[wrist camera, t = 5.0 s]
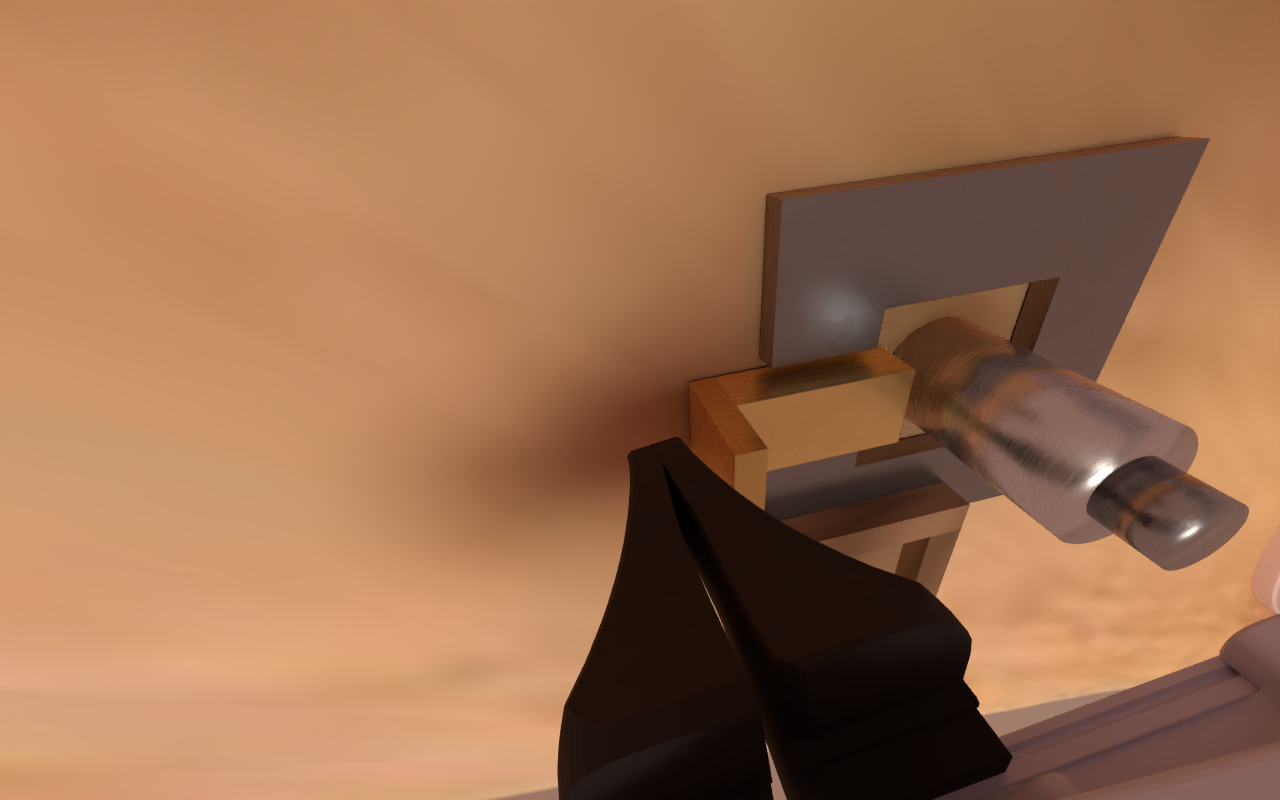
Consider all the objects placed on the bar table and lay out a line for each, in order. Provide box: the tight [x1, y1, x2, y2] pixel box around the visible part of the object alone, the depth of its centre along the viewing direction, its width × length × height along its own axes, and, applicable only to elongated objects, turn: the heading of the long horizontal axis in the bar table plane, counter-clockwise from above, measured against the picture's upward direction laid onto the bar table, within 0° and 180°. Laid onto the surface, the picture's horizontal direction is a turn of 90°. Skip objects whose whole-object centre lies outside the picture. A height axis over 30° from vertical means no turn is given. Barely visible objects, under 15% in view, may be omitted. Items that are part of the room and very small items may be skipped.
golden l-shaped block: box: [689, 346, 915, 510], centre depth 14 cm, size 6×2×4 cm, turn 95°
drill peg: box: [893, 317, 1249, 571], centre depth 13 cm, size 3×3×8 cm
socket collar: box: [760, 137, 1210, 521], centre depth 16 cm, size 12×12×1 cm
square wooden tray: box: [725, 482, 970, 638], centre depth 19 cm, size 8×8×2 cm
